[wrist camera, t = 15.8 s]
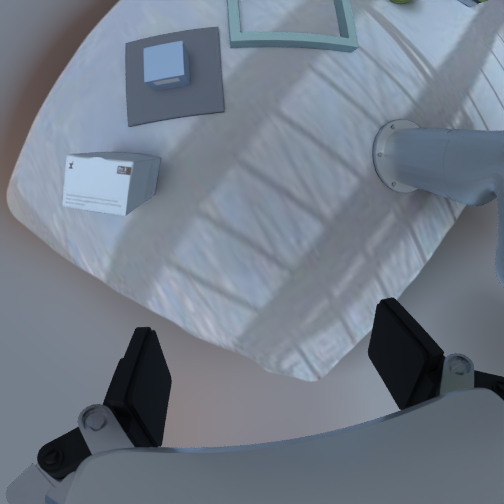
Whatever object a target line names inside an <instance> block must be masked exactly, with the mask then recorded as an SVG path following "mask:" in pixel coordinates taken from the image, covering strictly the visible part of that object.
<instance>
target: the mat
mask: <svg viewBox="0 0 504 504" xmlns="http://www.w3.org/2000/svg"><path fill="white" fill-rule="evenodd" d="M178 41H183V43H184V45H185V48H186V50H187V52H188V55H189V72H190V85H187V86H181V87H175V88H169V89H164V90H158V91H155V90H154V89H153V88H151V87H150V86H149V85H147V84H146V83H145V82H144V48H148V47H152V46H157V45H161V44H167V43H172V42H178ZM125 63H126V99H127V116H128V126H129V127H131V126H136V125H141V124H146V123H151V122H156V121H162V120H168V119H174V118H180V117H187V116H194V115H202V114H210V113H220V112H224V103H223V90H222V77H221V63H220V49H219V34H218V27H210V28H201V29H193V30H186V31H180V32H174V33H168V34H163V35H158V36H154V37H149V38H145V39H141V40H137V41H133V42H129V43H126V55H125Z"/></svg>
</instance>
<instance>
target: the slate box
mask: <svg viewBox="0 0 504 504" xmlns="http://www.w3.org/2000/svg"><path fill="white" fill-rule="evenodd" d="M144 82H145V83H146V84H147V85H149V86H150V87H151V88H153V89H154V90H155V91H158V90H164V89H169V88H175V87H181V86H187V85H190V72H189V55H188V52H187V50H186V48H185V45H184V43H183V41H178V42H172V43H167V44H161V45H157V46H152V47H148V48H144Z"/></svg>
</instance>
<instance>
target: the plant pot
mask: <svg viewBox="0 0 504 504" xmlns="http://www.w3.org/2000/svg"><path fill="white" fill-rule="evenodd" d="M391 1H392V2H394V3H397V4H403V3H406V2H409V1H411V0H391Z"/></svg>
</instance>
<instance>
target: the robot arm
mask: <svg viewBox="0 0 504 504" xmlns="http://www.w3.org/2000/svg"><path fill="white" fill-rule="evenodd" d="M373 159H374V165H375V168H376V171H377V173H378V175H379V177H380V179H381V180H382V181H383V183H385V184H386V185H387V186H388V187H389V188H391V189H392V190H395V191H397V192H402V193H410V192H414V191H415V190H417V189H422V190H425V191H428V192H431V193H434V194H437V195H440V196H443V197H446V198H449V199H452V200H455V201H457V202H460V203H463V204H466V205H470V206H482V205H485V204H487V203H489V202H491V201H492V200H494V199H495V198H496V197H497V201H498V234H497V247H496V258H495V269H496V275H497V278H498V280H499V282H500V284H501V285H502V286H503V287H504V131H480V130H459V129H429V128H420V127H419V126H418V125H417V124H415V123H413V122H411V121H409V120H402V119H399V120H393V121H391V122H388V123H387V124H385V125H384V126H383V127H382V128H381V129H380V131H379V132H378V134H377V136H376V139H375V142H374V147H373ZM443 354H444V351H443V350H442V349H441V348H440V347H439V346H438V345H437V343H436V342H435V341H434V340H433V339H432V338H431V337H430V336H429V334H428V333H427V332H426V331H425V330H424V329H423V328H422V327H421V326H420V325H419V323H418V322H417V321H416V320H415V319H414V318H413V317H412V316H411V315H410V314H409V313H408V312H407V311H406V310H405V309H404V307H403V306H401V305H400V303H399V302H398V301H397V300H396V299H395V298H387V299H382V300H381V301H380V303H379V304H377V307H376V313H375V318H374V324H373V329H372V334H371V339H370V344H369V348H368V355H369V358H370V360H371V361H372V363H373V365H374V366H375V368H376V370H377V371H378V373H379V375H380V376H381V378H382V380H383V381H384V383H385V385H386V387H387V388H388V390H389V392H390V393H391V395H392V397H393V399H394V400H395V402H396V404H397V405H398V407H399V409H400V410H401V411H398V412H395V413H392V414H389V415H386V416H384V417H380V418H377V419H374V420H371V421H367V422H364V423H361V424H357V425H354V426H350V427H346V428H342V429H338V430H334V431H330V432H325V433H321V434H316V435H311V436H306V437H300V438H295V439H289V440H282V441H276V442H268V443H260V444H251V445H240V446H227V447H226V446H225V447H201V448H199V447H198V448H168V447H167V448H165V447H161V445H162V441H163V433H164V427H165V420H166V414H167V407H168V401H169V395H170V389H171V382H172V380H171V375H170V372H169V370H168V367H167V364H166V361H165V358H164V355H163V352H162V349H161V346H160V343H159V340H158V337H157V335H156V332H155V331H154V330H151V328H150V327H137V328H136V329H135V331H134V334H133V336H132V338H131V341H130V343H129V346H128V348H127V351H126V353H125V356H124V358H122V359H120V361H119V363H118V366H117V368H116V370H115V373H114V375H113V378H112V381H111V383H110V386H109V388H108V391H107V394H106V397H105V399H104V402H103V405H101V404H95V405H94V404H93V405H91V406H88V407H86V408H85V409H84V410H83V411H82V412H81V413H80V415H79V417H78V425H79V427H77V428H75V429H73V430H72V431H70V432H68V433H66V434H64V435H62V436H61V437H59V438H57V439H55V440H53V441H51V442H49V443H47V444H45V445H44V446H43V447H42V448H41V449H40V450H39V453H38V456H37V461H38V463H37V464H36V465H35V464H33V463H32V464H31V465H30V466H29V467H28V468H27V469H26V470H25V471H24V472H23V473H22V474H21V475H20V476H19V477H18V478H16V479H15V480H14V481H13V482H12V483H11V484H10V485H9V486H8V488H7V490H6V498H7V501H8V503H9V504H504V377H502V376H497V375H493V374H488V373H483V372H480V371H475V370H474V365H473V362H472V361H471V360H470V359H469V358H468V357H467V356H465V355H463V354H457V353H455V354H450V355H448V356H447V357H445V356H444V355H443ZM158 446H160V447H158Z"/></svg>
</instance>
